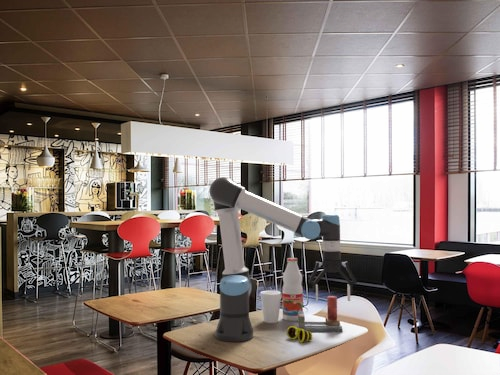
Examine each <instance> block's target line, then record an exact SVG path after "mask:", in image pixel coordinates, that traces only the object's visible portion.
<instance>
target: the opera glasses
mask: <svg viewBox="0 0 500 375" xmlns="http://www.w3.org/2000/svg"><path fill="white" fill-rule="evenodd" d="M286 335H287V337H288V339H290V340H298V342H299V343H303V342H311V341H312V340H313V334H312V332H308V331H306V330H303V329H300V328H298V327H296V326H294V325H291V326H289V327H288V328H287V329H286Z"/></svg>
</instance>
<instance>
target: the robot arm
mask: <svg viewBox="0 0 500 375" xmlns="http://www.w3.org/2000/svg"><path fill="white" fill-rule="evenodd" d="M209 195H210V196H209V197H210V198H211V200H212V201H213V208H214V212H215V213H217V214H218V220H219V228H220V237H221V244H222V254H223V261H224V262H223V263H224V270H223V271H222V275H221V276H222V278H221V279H220V282H219V319H218V322H217V326H216V329H215V339H217V340H218V341H219V340H220V341H222V342H228V343H229V342H233V343H234V342H236V343H237V342H245V341H249V340H250V339H253V338H254V328H253V325H252V323H251V319H250V295H251V293H252V288H253V287H252V281H251V278H250V271H249V268H248V267H246V266H245V260H244V250H243V241H242V234H241V226H240V225H241V224H240V218H239V211H240V209H241V210H242V211H245V212H246V213H250V214H252V215H253V216H256V217H258V218H261V219H263V220H266V221H267V222H269V223H273V224H274V225H277V226H278V227H281V228H283V229H285V230H288V231H291V232H293V233H294V236H295V237H296V238H297V237H298V238H305V239H307V240H311V241H312V240H314V239H317V238H321V237H322V250H323V251H322V262H320V261H315V266H314V269H313V271H312V272H311V275H310V277H309V279H308V284H310V285H312V292H313V293H314V294H315V302H318V301H319V285H318V283H319V282H320V280H321V279H322V278H323V277H324V275H325V274H327V273H335V274H336V273H339V274H340V276H341V277H342V278H343V279H344V280H345V281H346V282H347V288H346V289H347V292H346V293H347V301H348V302H351V294H352V293H353V292H354V291H353V290H354V289H353V288H354V287H353V286H354V285H355V284H357V283H358V282H357V279H356V277H355V275H354V274H353V272H352V270H351V268H350V266H349V262H348V261H342V260H341V259H342V258H341V257H342V255H341V254H342V253H341V223H340V216H339V215H338V214H323V215H321V218H319V219H311V218H308V217H306V216H305V215H304V216H303V215H302V214H299V213H297V212H294V211H292V210H290V209H288V208H285V207H283V206H282V205H279V204H276V203H275V202H272V201H270V200H267V199H265V198H263V197H261V196H259V195H256V194H254V193H252V192H249V191H247V190H246V188H245V187H244V186H242V185H240V184H237V183H236V181H234V180H233V179H231V178H229V177H225V176H222V177H218V178H216V179H215V180H214V181H213V182H212V183H211V185H210V186H209ZM321 266H322V267H323V268H322V271H320V273H319V274H318V275H317V276H316V274H317V272H318V270H319V268H321ZM342 266H343V267H344V268H345V269H346V271H347V273H348V275H349V277H350V279H351V280H350V279H349V277H348V276H347V275H346V274H345V273H344V272H343V271H342V269H341V267H342ZM315 277H316V278H315ZM314 278H315V279H314Z"/></svg>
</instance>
